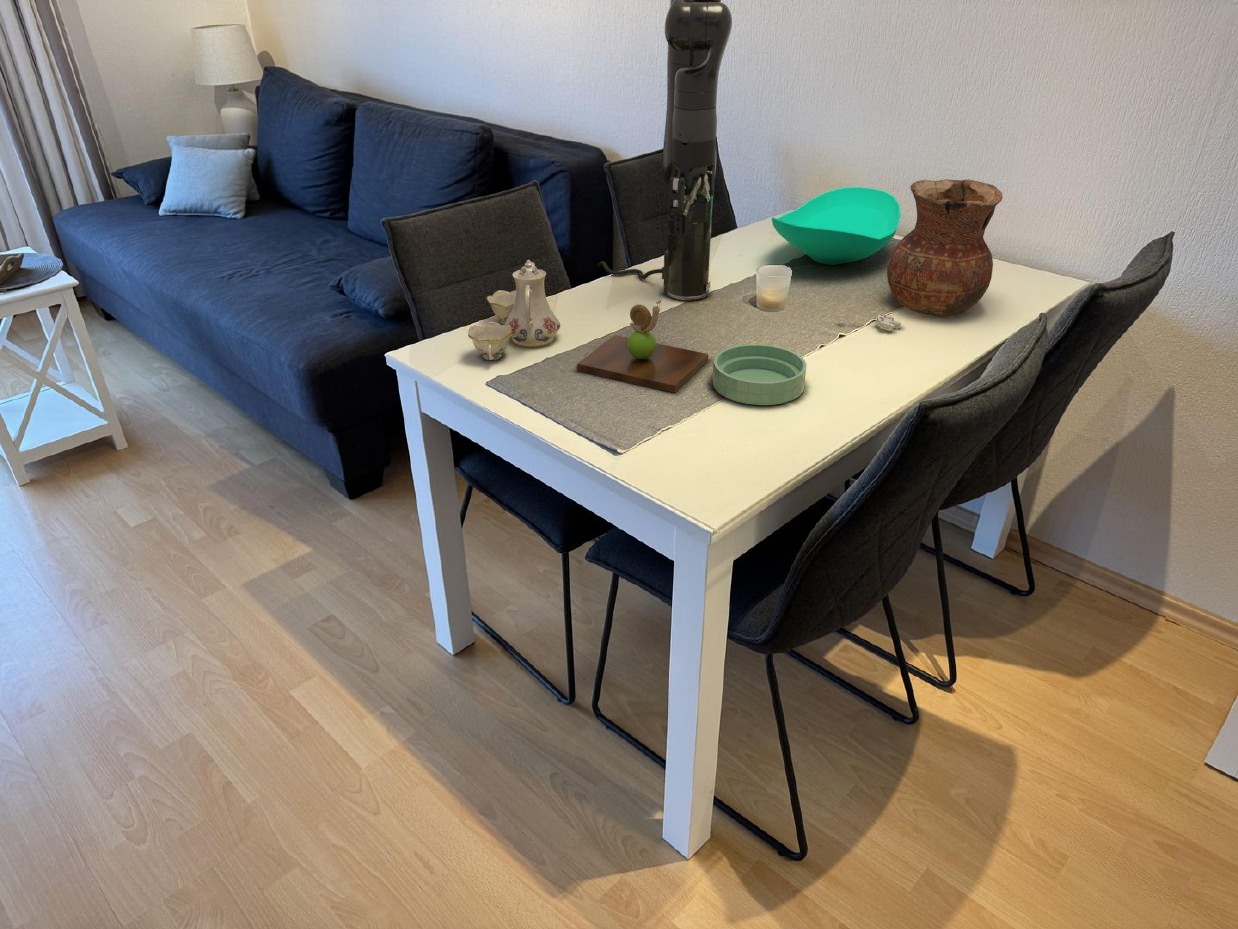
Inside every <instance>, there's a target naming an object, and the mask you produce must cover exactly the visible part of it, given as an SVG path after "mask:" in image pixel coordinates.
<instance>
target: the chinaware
mask: <svg viewBox="0 0 1238 929" xmlns="http://www.w3.org/2000/svg"><path fill="white" fill-rule="evenodd" d="M535 265H536V264H535V262H533V261H531V260H530V259H527V260H526V261H525V263H524V266H521V268H520V269H518V270H515V271H514V272H513V273H512V277H513V280H514V283H515V290H511V291H507V290H504V289H502V290H497V291H495V292H494V293H493V294H492V295H487V296H486V297H485V299H486V302H488V304H489V305H490V308H491V310H492V312H493V313H494V314H495V316H496V317H497V318H499V319H501V324H500V323H499V322H496V321H488V322H484V323H483V324H481V325H472V326H470V327H469V328H468V334H467V338H468V339H469V340H471V341H472V344H473V347H474V348H475V349H476V350H477V351H478V352H479V353H480V354H483V355H482V357H483V358H484V359H485V360H487V361H495V360H498V359H500V358H502V357H503V355H502V354H501V353H503V352H504V351H505V350H506V349H507V348H508V346H509V343H510V337H512V338H511V342H513V344H514V345H516V346H519V347H523V348H541V347H544V346H548V345H550V344H552V343H553V342H554V341H555V335H556V334H557V332H558V331H560V328H561V323H560V321H559V319H558V318H557V316H556V315H555V314H554V312H553V310H552V308H551V307H550V305H549V302H548V299H547V296H546V290H545V279H546V275H547V272H546V271H545V270H543V269H540V268H537V266H535Z"/></svg>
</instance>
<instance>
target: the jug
mask: <svg viewBox="0 0 1238 929" xmlns="http://www.w3.org/2000/svg"><path fill="white" fill-rule="evenodd" d="M910 191H911V193H912V195H913V198H914V200H915V207H916V209H915V210H916V221H915V225H914V228H913V229H912V230H911V231H909V232H908V233H907V234H906V235H905V236H903V238H900V240H899V241H898V243H897V244H896V245H895V246H894V248H893V250H892V252H891V254H890V257H889V260H888V262H887V269H886V277H887V283H888V286H889V289H890V291H891V293H892V295H893V297H894V298H895V299H896V300H897V301H898V302H899V304H900V305H902V306H903V307H904V308H906V309H908V310H910V311H912V312H916V313H918V314H919V313H920V314H923V315H927V316H933V317H952V316H957V315H960V314H963V313H964V312H966V311H968V310H970V309H971V308H972V307H974V306H975V305H976V304H977V303H978V302H979V301H981V299H982V298H983V297H984V295H985V294H986V292H987V290H988V288H989V286H990V285H991V281H992V278H993V277H992V276H993V270H994V260H993V254H992V252H991V250H990V248H989V246H988V244H987V243H986V241H985V239H984V236H985V232H986V228H987V227H988V226H989V223H990V221H991V220H992V218H993V216H994V213H995V210H996V207H997V206H998V205H999V204H1000V203H1001V202H1002V200H1003V197H1004V196H1003V192H1002V191H1001V190H1000V189H998V187H997V186H995V185H994V184H991V183H986V182H983V181H978V180H974V179H969V178H968V179H967V178H966V179H961V180H960V179H947V178H945V179H944V178H943V179H940V180H932V179H921V180H916V181H915V182H913V183H912V184H911V185H910Z"/></svg>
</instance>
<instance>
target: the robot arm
mask: <svg viewBox="0 0 1238 929" xmlns="http://www.w3.org/2000/svg"><path fill="white" fill-rule="evenodd" d="M669 3H670V4H669V8H668V10H667V14H666V16H665V21H664V36H665V40H666V42H667V54H666V55H667V57H666V58H667V60H666V83H667V84H666V111H665V112H666V113H665V126H664V135H663V146H662V147H663V148H662V159H661V161H662V162H661V163H662V165H661V168H662V177H663V180H664V182H665V184H666V185H667V186H668V194H667V195H668V196H667V213H668V222H667V223H668V227H667V228H668V229H667V230H668V232H667V234H668V235H667V250H666V251H665V252H664V253H663V267H661V268H656V269H651V270H648V271H646V272H645V273H643V270H641V269H638V268H629V269H624V270H612V269H611V268H610V267H609V266H608V264H607V263H606V261H600V262H599V263H598V264H597V267H598V268H602V267H603V269H604V271H605V272H606V273H607V274H608V275H612V276H624V275H627V274H638V277H639V279H641V280H645V279H647V278H648V277H650V276H651V275H657V274H661V279H662V280H663V287H662V289H663V291H662V292H663V293H662V294H663V295H665V296H668V297H669V298H671V299H675V300H678V301H687V302H688V301H689V302H690V301H698V300H703V299H705V298H706V297H708V296H709V292H710V291H709V289H710V288H711V283H712V282H711V280H709V279H710V264H711V263H710V262H711V241H712V217H713V203H714V195H715V184H716V183H715V182H716V181H715V179H716V170H717V131H718V113H717V104H718V102H717V101H718V85H719V76H720V70H721V65H722V61H723V58H724V54H725V51H726V48H727V46H728V42H729V39H730V36H731V32H732V27H733V17H732V12H731V10H730V8H729V6H728V5H727V4H726V3H724V2H722V0H669Z"/></svg>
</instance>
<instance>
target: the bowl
mask: <svg viewBox="0 0 1238 929" xmlns="http://www.w3.org/2000/svg"><path fill="white" fill-rule="evenodd" d="M807 365H808V364H807V362H806V360H805V359H804V357H802V356H801V355H800V354H799V353H797V352H794V351H793V350H791V349H788V348H784V347H782V346H776V345H772V344H763V343H746V344H737V345H733V346H730V347H727V348H725V349H722V350H720V351H719V352H718V353H717V354H716V355H715V356H714V359H713V363H712V381H711V382H712V386H713V388H714V389H715V391H716V392H717V393H718V394H719V395H721V396H723V397H724V398H726V399H729V400H731V401H734V402H737V403H741V404H747V405H754V406H774V405H781V404H785V403H788V402H791V401H794V400H795V399H797V398H799V397H800V396H801V395H802V394H803V392H804V391H805V383H806V374H807Z"/></svg>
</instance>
